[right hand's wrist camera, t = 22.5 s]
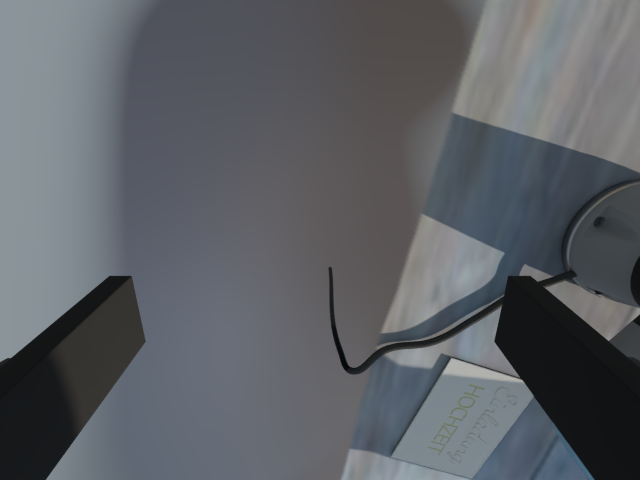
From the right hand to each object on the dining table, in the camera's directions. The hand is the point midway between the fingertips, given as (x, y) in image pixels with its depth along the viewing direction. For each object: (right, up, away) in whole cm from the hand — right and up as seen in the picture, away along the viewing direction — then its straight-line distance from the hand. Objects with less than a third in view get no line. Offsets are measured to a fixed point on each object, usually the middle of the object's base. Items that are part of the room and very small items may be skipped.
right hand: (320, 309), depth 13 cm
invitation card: (+22, -26, +44) cm, 56 cm away
